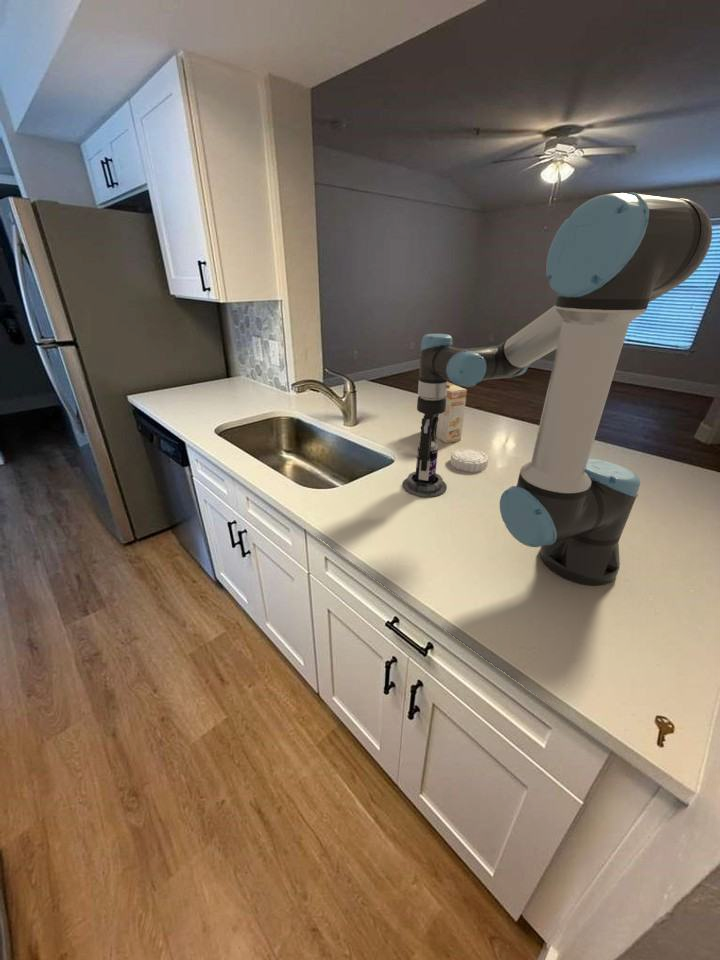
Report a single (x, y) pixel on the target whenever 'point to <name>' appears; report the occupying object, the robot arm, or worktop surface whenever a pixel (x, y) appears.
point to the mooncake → (469, 460)
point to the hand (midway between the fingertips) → (425, 474)
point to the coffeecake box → (452, 415)
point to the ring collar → (424, 486)
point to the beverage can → (432, 464)
